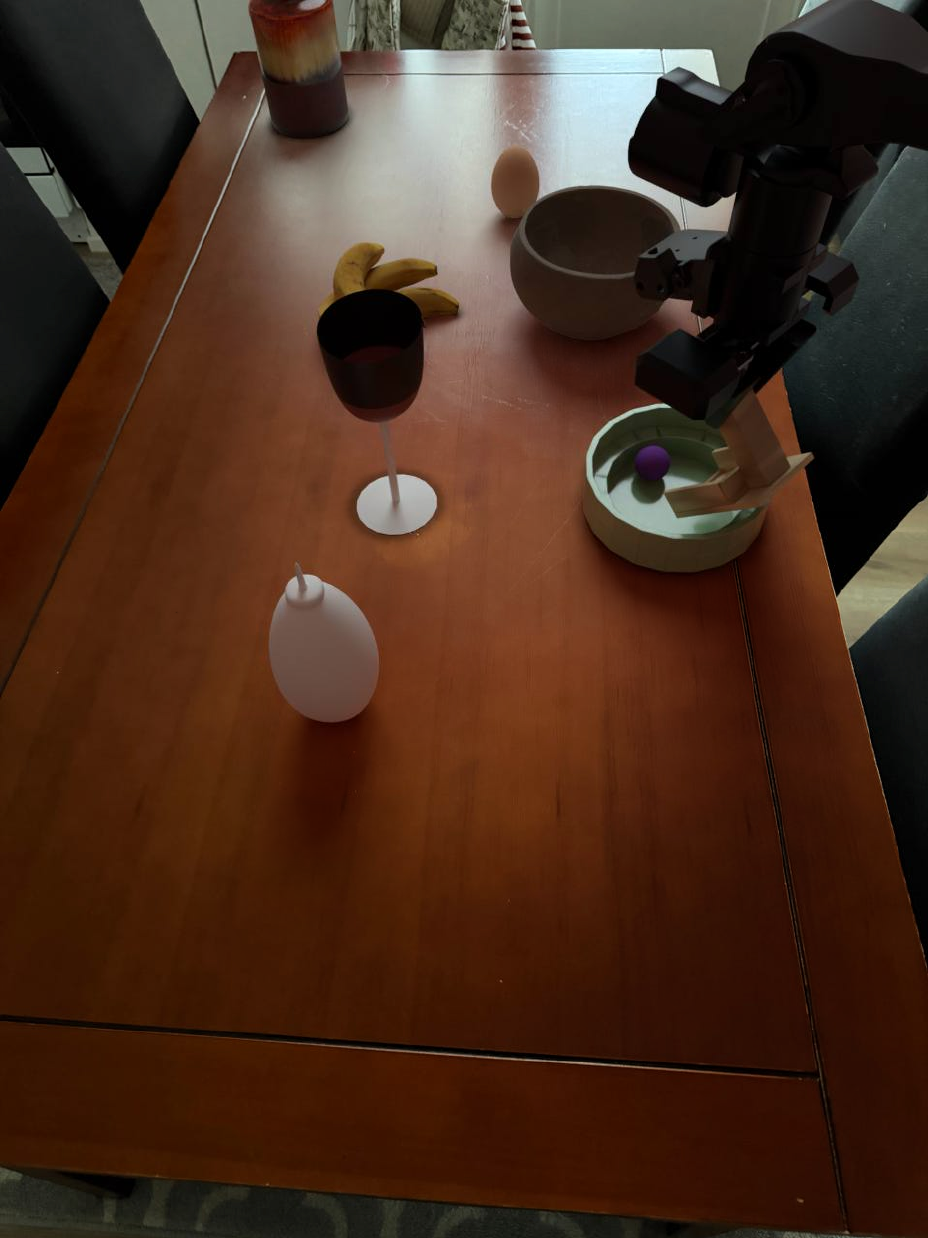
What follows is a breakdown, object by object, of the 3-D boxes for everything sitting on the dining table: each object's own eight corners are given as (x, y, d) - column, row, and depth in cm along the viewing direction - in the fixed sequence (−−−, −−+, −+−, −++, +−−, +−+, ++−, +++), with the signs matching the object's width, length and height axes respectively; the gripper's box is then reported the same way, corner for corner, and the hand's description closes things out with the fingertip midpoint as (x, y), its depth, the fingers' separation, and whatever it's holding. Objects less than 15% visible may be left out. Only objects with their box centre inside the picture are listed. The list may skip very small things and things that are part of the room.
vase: (354, 131, 123) (331, -44, 106) (276, 143, 122) (240, -31, 105) (342, 94, 129) (318, -77, 113) (267, 105, 128) (232, -65, 111)
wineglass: (345, 536, 82) (304, 359, 66) (364, 467, 87) (330, 286, 71) (431, 543, 81) (412, 365, 65) (445, 472, 86) (430, 291, 70)
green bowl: (776, 465, 85) (789, 426, 81) (742, 596, 77) (755, 560, 72) (609, 427, 89) (614, 387, 85) (559, 548, 80) (562, 510, 76)
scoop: (814, 458, 71) (746, 314, 68) (760, 507, 69) (686, 360, 65) (728, 474, 80) (663, 347, 76) (676, 518, 77) (607, 389, 74)
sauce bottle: (389, 659, 74) (360, 514, 60) (384, 744, 70) (352, 611, 55) (295, 661, 75) (243, 517, 60) (284, 746, 70) (225, 614, 55)
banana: (326, 390, 93) (316, 345, 89) (319, 280, 104) (310, 235, 100) (472, 373, 94) (470, 327, 89) (450, 265, 105) (447, 220, 100)
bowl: (692, 285, 101) (709, 200, 93) (635, 382, 92) (647, 298, 84) (551, 248, 106) (555, 165, 98) (484, 337, 97) (482, 253, 89)
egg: (532, 231, 108) (534, 162, 101) (486, 225, 109) (485, 157, 102) (543, 204, 111) (545, 136, 104) (497, 199, 112) (497, 132, 105)
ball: (647, 492, 83) (677, 472, 81) (627, 465, 82) (657, 444, 80) (647, 480, 85) (676, 461, 84) (628, 454, 85) (657, 434, 83)
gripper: (756, 132, 65) (714, 316, 78) (582, 244, 58) (568, 425, 71) (895, 190, 60) (827, 375, 73) (724, 319, 53) (681, 499, 66)
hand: (725, 415), depth 71 cm, fingers closed on scoop, 3 cm apart
